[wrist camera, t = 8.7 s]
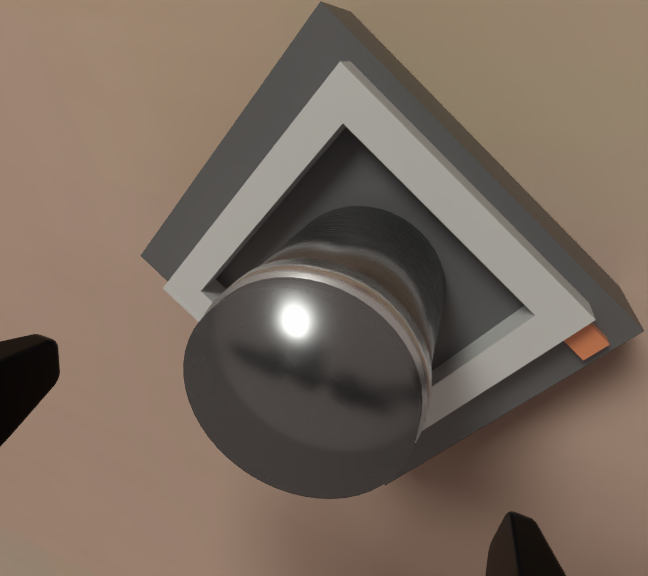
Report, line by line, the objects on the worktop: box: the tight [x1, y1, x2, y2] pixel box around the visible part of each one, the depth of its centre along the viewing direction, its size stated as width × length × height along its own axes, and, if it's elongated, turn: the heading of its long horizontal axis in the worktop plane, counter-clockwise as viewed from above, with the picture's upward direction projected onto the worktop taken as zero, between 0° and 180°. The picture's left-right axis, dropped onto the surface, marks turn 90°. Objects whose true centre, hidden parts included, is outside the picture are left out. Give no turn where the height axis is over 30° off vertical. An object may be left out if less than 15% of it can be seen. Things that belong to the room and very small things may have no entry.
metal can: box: [183, 206, 446, 499], centre depth 13 cm, size 5×5×6 cm
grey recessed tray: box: [141, 2, 644, 485], centre depth 16 cm, size 12×10×4 cm
